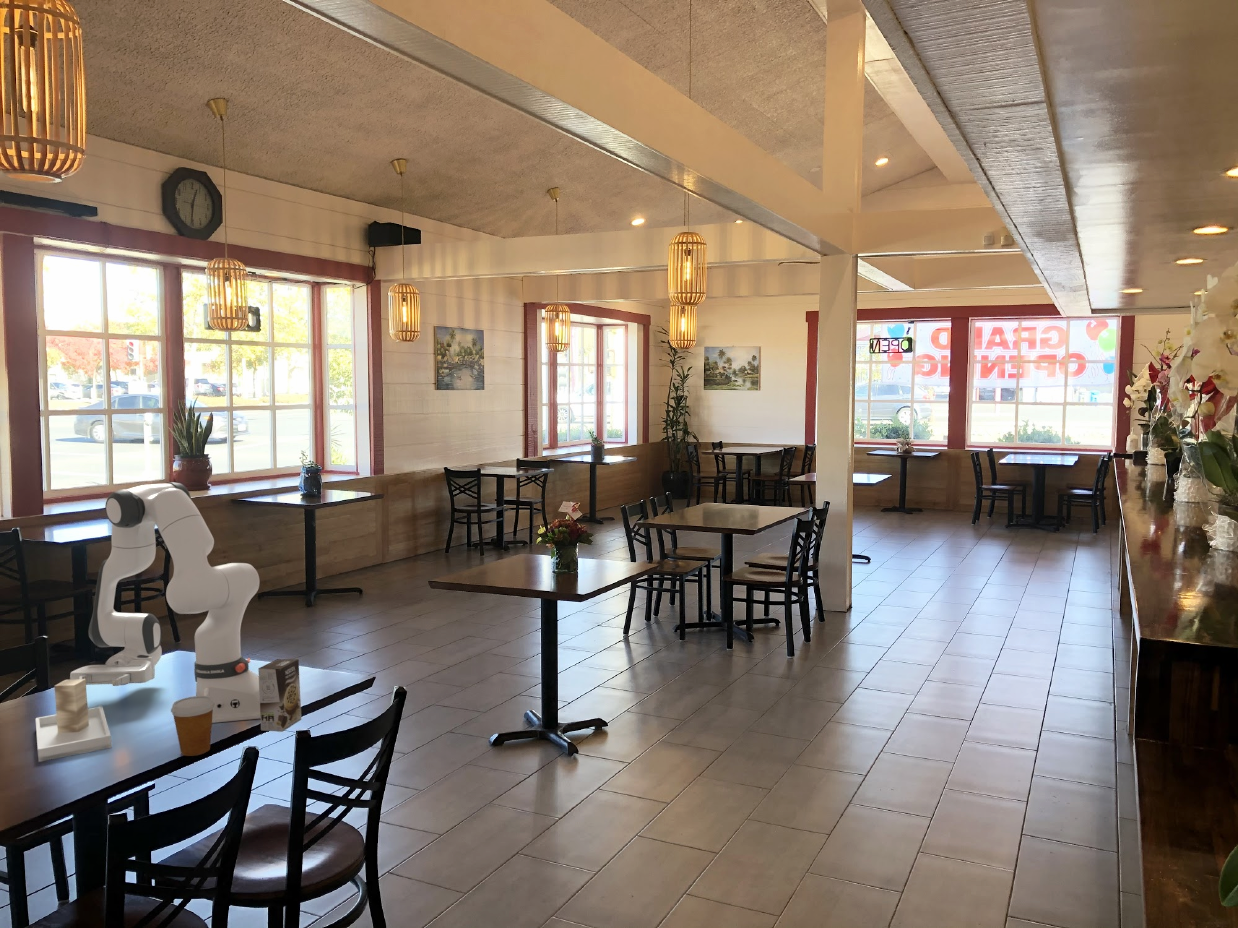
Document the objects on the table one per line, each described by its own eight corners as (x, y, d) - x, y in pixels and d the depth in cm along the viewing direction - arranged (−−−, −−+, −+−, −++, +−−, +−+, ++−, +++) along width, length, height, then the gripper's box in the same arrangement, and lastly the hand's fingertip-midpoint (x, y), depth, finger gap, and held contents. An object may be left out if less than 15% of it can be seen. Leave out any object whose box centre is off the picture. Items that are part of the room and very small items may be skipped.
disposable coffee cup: (206, 758, 219) (203, 707, 218) (166, 759, 219) (162, 708, 218) (224, 742, 229) (221, 694, 228) (185, 743, 229) (182, 695, 228)
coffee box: (283, 732, 235) (280, 668, 234) (260, 730, 236) (256, 667, 235) (302, 719, 244) (299, 658, 243) (280, 718, 245) (277, 657, 244)
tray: (111, 747, 227) (110, 735, 227) (38, 761, 219) (37, 749, 219) (102, 717, 249) (102, 706, 249) (36, 729, 241) (35, 717, 241)
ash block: (88, 724, 241) (85, 678, 240) (78, 731, 236) (74, 685, 235) (69, 725, 240) (65, 679, 240) (57, 732, 235) (54, 685, 235)
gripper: (85, 658, 263) (56, 673, 249) (158, 655, 263) (134, 670, 250) (86, 680, 263) (58, 696, 250) (160, 677, 264) (136, 693, 250)
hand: (97, 683), depth 250 cm, fingers open, 8 cm apart
